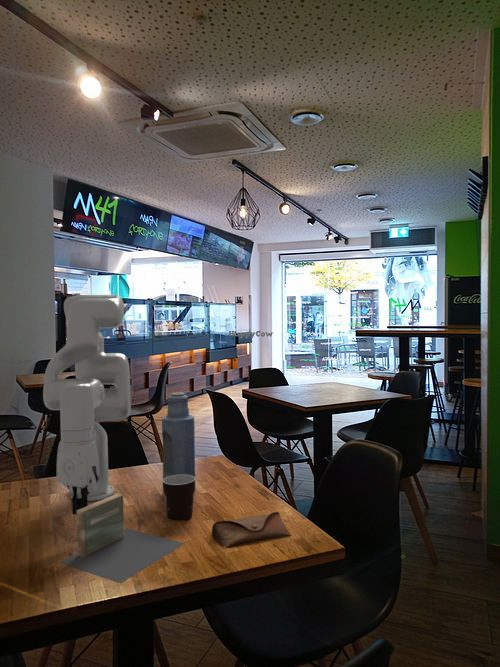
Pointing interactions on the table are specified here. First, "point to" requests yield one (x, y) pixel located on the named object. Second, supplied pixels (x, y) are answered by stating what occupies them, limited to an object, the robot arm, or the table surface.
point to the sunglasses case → (249, 530)
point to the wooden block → (100, 524)
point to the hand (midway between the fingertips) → (80, 512)
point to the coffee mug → (179, 496)
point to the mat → (124, 556)
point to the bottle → (178, 437)
